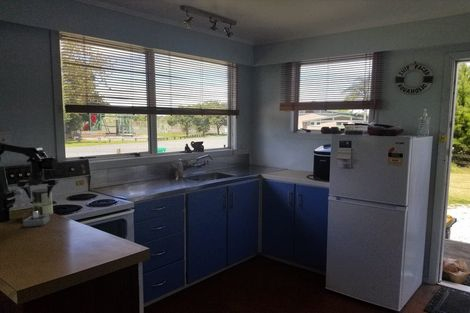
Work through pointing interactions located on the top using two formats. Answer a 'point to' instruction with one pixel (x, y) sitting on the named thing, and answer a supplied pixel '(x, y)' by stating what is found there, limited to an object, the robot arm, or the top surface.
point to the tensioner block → (28, 215)
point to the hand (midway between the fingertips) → (39, 198)
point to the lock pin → (35, 215)
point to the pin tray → (36, 221)
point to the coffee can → (42, 202)
